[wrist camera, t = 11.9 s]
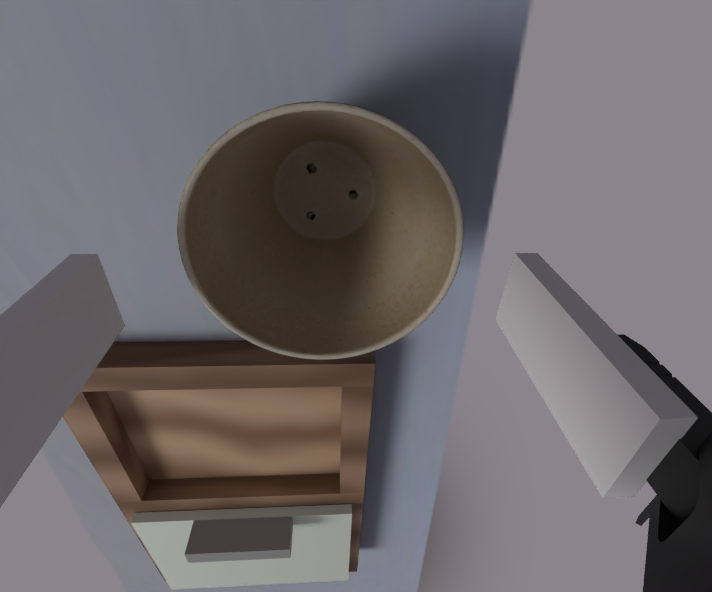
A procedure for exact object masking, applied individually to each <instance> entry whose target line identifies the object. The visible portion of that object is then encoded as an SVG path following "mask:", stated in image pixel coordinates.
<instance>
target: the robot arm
mask: <svg viewBox="0 0 712 592" xmlns="http://www.w3.org/2000/svg"><path fill="white" fill-rule="evenodd" d="M496 322H497V323H498V325H499V327H500V328H501V330H502V332H503V333H504V335H505V337H506V338H507V340H508V342H509V343H510V345H511V346H512V348H513V350H514V352H515V353H516V355H517V357H518V358H519V360H520V362H521V363H522V365H523V366H524V368H525V370H526V372H527V373H528V375H529V376H530V378H531V380H532V381H533V383H534V385H535V386H536V388H537V390H538V391H539V393H540V395H541V396H542V398H543V400H544V401H545V403H546V405H547V406H548V408H549V410H550V411H551V413H552V415H553V416H554V418H555V420H556V421H557V423H558V425H559V426H560V428H561V429H562V431H563V433H564V435H565V436H566V438H567V440H568V441H569V443H570V445H571V446H572V448H573V450H574V451H575V453H576V455H577V456H578V458H579V459H580V461H581V463H582V465H583V466H584V468H585V469H586V471H587V473H588V475H589V476H590V478H591V479H592V481H593V483H594V484H595V486H596V488H597V489H598V491H599V493H600V494H601V496H602V498H613V497H630V496H631V497H632V496H635V495H636V494H637V493H638V491H639V490H640V489H641V488H642V486H643V485H644V484H645V483H646V482H647V481H648V483H649V484H650V486H651V487H652V488H653V490H654V491H655V492H656V494H657V495H656V497H655V498H654V499H653V500H652V501H651V503H649V505H648V506H647V507H646V508H645V509H644V511H643V512H642V513H641V514H640V515H639V516H638V519H637V521H636V523H637V524H639V525H640V526H641V525H642V524H643V523H644V522H645V521H646V520H647V519H648V518H650V520H649V531H648V542H647V553H646V564H645V575H644V586H643V592H712V413H711V412H710V411H709V410H708V409H707V408H706V407H705V406H704V405H703V404H702V403H701V402H700V401H699V400H698V399H697V398H696V397H695V396H694V395H693V394H692V393H691V392H690V391H689V390H688V389H687V388H686V387H685V386H684V385H683V384H681V382H680V381H678V380H677V379H676V378H675V377H672V374H671V373H670V372H669V371H668V370H667V369H666V368H665V367H664V366H663V365H660V364H659V361H658V360H657V359H656V358H655V357H654V356H653V355H652V354H651V353H650V352H648V350H647V349H646V348H645V347H643V346H642V345H640V344H638V343H637V342H635V341H634V340H632V339H630V338H629V337H627V336H626V335H617V334H616V333H615V332H614V331H613V330H612V329H611V328H610V327H609V326H608V325H607V324H606V323H605V322H604V321H603V320H602V319H601V318H600V317H599V316H598V315H597V314H596V313H595V312H594V311H593V310H592V309H591V308H590V306H589V305H587V303H586V302H585V301H584V300H582V298H581V297H580V296H579V295H578V294H577V293H576V292H575V291H574V290H573V289H572V288H571V287H570V286H569V285H568V284H567V283H566V282H565V281H564V280H563V279H562V278H561V277H560V276H559V275H558V274H557V273H556V272H555V271H554V270H553V269H552V268H551V267H550V266H549V265H548V264H547V263H546V262H545V260H544V259H542V257H541V256H540V255H538V253H515V255H514V259H513V262H512V265H511V269H510V272H509V275H508V279H507V282H506V286H505V289H504V292H503V296H502V299H501V302H500V306H499V309H498V313H497V316H496ZM124 326H125V325H124V322H123V319H122V317H121V314H120V312H119V309H118V306H117V304H116V301H115V298H114V296H113V293H112V291H111V288H110V285H109V283H108V280H107V278H106V275H105V272H104V270H103V267H102V265H101V262H100V259H99V257H98V254H71V255H70V256H68V257H67V258H66V259H65V260H64V261H63V262H61V263H60V264H59V265H58V266H57V267H56V268H55V269H53V270H52V271H51V272H50V273H49V274H48V275H46V276H45V277H44V278H43V279H42V280H41V281H40V282H38V283H37V284H36V285H35V286H34V287H33V288H31V289H30V290H29V291H28V292H27V293H26V294H25V295H23V296H22V297H21V298H20V299H19V300H18V301H16V302H15V303H14V304H13V305H12V306H11V307H10V308H8V309H7V310H6V311H5V312H4V313H3V314H1V315H0V507H1V506H2V504H3V503H4V501H5V500H6V498H7V497H8V495H9V494H10V493H11V491H12V490H13V488H14V487H15V485H16V484H17V482H18V481H19V479H20V478H21V476H22V475H23V473H24V472H25V471H26V469H27V468H28V466H29V465H30V463H31V462H32V460H33V459H34V457H35V456H36V455H37V453H38V452H39V450H40V449H41V447H42V446H43V444H44V443H45V441H46V440H47V439H48V437H49V436H50V434H51V433H52V431H53V430H54V428H55V427H56V425H57V424H58V422H59V421H60V420H61V418H62V417H63V415H64V414H65V412H66V411H67V409H68V408H69V406H70V405H71V403H72V402H73V401H74V399H75V398H76V396H77V395H78V393H79V392H80V390H81V389H82V387H83V386H84V385H85V383H86V382H87V380H88V379H89V377H90V376H91V374H92V373H93V371H94V370H95V368H96V367H97V366H98V364H99V363H100V361H101V360H102V358H103V357H104V355H105V354H106V352H107V351H108V349H109V348H110V347H111V345H112V344H113V342H114V341H115V339H116V338H117V336H118V335H119V333H120V332H121V330H122V329H123V328H124Z"/></svg>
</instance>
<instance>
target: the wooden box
mask: <svg viewBox="0 0 712 592" xmlns="http://www.w3.org/2000/svg"><path fill="white" fill-rule="evenodd" d="M374 374H375V357H374V351H372V352H369V353H365V354H361V355H358V356H354V357H347V358H341V359H327V360H326V359H323V360H319V359H304V358H298V357H292V356H287V355H283V354H279V353H276V352H272V351H270V350H267V349H264V348H262V347H259V346H257V345H255V344H253V343H251V342H249V341H230V342H143V343H113V344H112V345H111V347H110V348H109V349H108V351H107V352H106V354H105V355H104V357H103V358H102V360H101V361H100V363H99V364H98V366H97V367H96V368H95V370H94V371H93V373H92V374H91V376H90V377H89V379H88V380H87V382H86V383H85V385H84V386H83V387H82V389H81V390H80V392H79V393H78V395H77V396H76V398H75V399H74V401H73V402H72V403H71V405H70V406H69V408H68V409H67V411H66V412H65V414H64V415H63V418H64V420H65V421H66V423H67V425H68V426H69V428H70V429H71V431H72V433H73V434H74V436H75V437H76V439H77V441H78V442H79V444H80V445H81V447H82V449H83V450H84V452H85V453H86V455H87V457H88V458H89V460H90V461H91V463H92V465H93V466H94V468H95V469H96V471H97V473H98V474H99V476H100V478H101V479H102V481H103V482H104V484H105V486H106V487H107V489H108V490H109V492H110V494H111V495H112V497H113V498H114V500H115V502H116V503H117V505H118V506H119V508H120V510H121V511H122V513H123V514H124V516H125V518H126V519H127V521H128V522H129V524H130V526H131V527H132V529H133V531H134V532H135V534H136V535H137V537H138V539H139V540H140V542H141V543H142V545H143V547H144V548H145V550H146V551H147V553H148V555H149V556H150V558H151V559H152V561H153V563H154V564H155V566H156V567H157V565H156V563H155V562H154V560H153V558H152V557H151V555H150V554H149V552H148V550H147V549H146V547H145V546H144V544H143V542H142V541H141V539H140V537H139V536H138V534H137V533H136V531H135V529H134V528H133V526H132V524H131V521H132V518H133V516H134V513H143V512H168V511H193V510H218V509H243V508H269V507H294V506H319V505H344V504H352V522H351V540H350V557H349V572H356V571H357V566H358V555H359V544H360V533H361V521H362V510H363V499H364V487H365V476H366V465H367V453H368V442H369V431H370V419H371V408H372V397H373V385H374ZM157 569H158V571H159V572H160V574H161V575H162V573H161V571H160V570H159V568H158V567H157ZM162 577H163V579H164V580H165V578H164V576H163V575H162ZM165 581H166V580H165Z"/></svg>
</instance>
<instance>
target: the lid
mask: <svg viewBox="0 0 712 592" xmlns="http://www.w3.org/2000/svg"><path fill="white" fill-rule="evenodd" d="M351 522H352V504H344V505H319V506H294V507H269V508H243V509H218V510H193V511H168V512H143V513H134V516H133V518H132V521H131V524H132V526H133V528H134V529H135V531H136V533H137V534H138V536H139V537H140V539H141V541H142V542H143V544H144V546H145V547H146V549H147V550H148V552H149V554H150V555H151V557H152V558H153V560H154V562H155V563H156V565H157V567H158V568H159V570H160V571H161V573H162V575H163V576H164V578H165V580H166V581H167V583H168V584H169V586H170V588H171V589H191V588H209V587H228V586H247V585H266V584H285V583H304V582H323V581H342V580H348V574H349V557H350V540H351Z"/></svg>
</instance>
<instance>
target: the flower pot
mask: <svg viewBox="0 0 712 592" xmlns="http://www.w3.org/2000/svg"><path fill="white" fill-rule="evenodd" d="M307 167H309V168H311V170H312V172H311V173H310V172H309V171H308V169H307ZM352 190H355V191H356V192H355V193H350V191H352ZM314 214H315V217H314V219H312V218H311V216H312V215H314ZM177 233H178V244H179V250H180V254H181V259H182V262H183V265H184V268H185V271H186V274H187V276H188V278H189V281H190V283H191V285H192V286H193V288H194V290H195V292H196V293H197V295H198V296H199V298H200V299H201V301H202V302H203V303H204V305H205V306H206V307H207V308H208V309H209V311H210V312H211V313H212V314H213V315H214V316H215V317H216V318H217V319H218V320H219V321H220V322H221V323H222V324H223V325H225V326H226V327H227V328H228V329H230V330H231V331H233V332H234V333H236V334H237V335H239V336H240V337H242V338H244V339H246V340H247V341H249V342H251V343H253V344H255V345H257V346H259V347H262V348H264V349H267V350H270V351H272V352H276V353H279V354H283V355H287V356H292V357H298V358H304V359H319V360H323V359H326V360H327V359H341V358H347V357H354V356H358V355H361V354H365V353H369V352H372V351H375V350H378V349H380V348H383V347H385V346H387V345H389V344H391V343H393V342H395V341H397V340H399V339H401V338H402V337H404V336H405V335H407V334H408V333H410V332H411V331H413V330H414V329H415V328H416V327H418V326H419V325H420V324H421V323H423V322H424V321H425V320H426V319H427V318H428V317H429V316H430V315H431V313H432V312H433V311H434V310H435V309H436V307H437V306H438V305H439V304H440V302H441V301H442V299H443V298H444V297H445V295H446V293H447V292H448V290H449V288H450V286H451V284H452V282H453V280H454V277H455V275H456V273H457V270H458V267H459V263H460V259H461V254H462V247H463V236H464V229H463V216H462V210H461V206H460V202H459V198H458V195H457V192H456V190H455V187H454V185H453V182H452V180H451V178H450V176H449V174H448V172H447V171H446V169H445V168H444V167H443V165H442V163H441V162H440V161H439V159H438V158H437V157H436V156H435V154H434V153H433V152H432V151H431V150H430V149H429V148H428V147H427V146H426V145H425V144H424V143H423V142H422V141H421V140H420V139H419V138H418V137H416V136H415V135H414V134H413V133H411V132H410V131H409V130H407V129H406V128H404V127H403V126H401V125H400V124H398V123H396V122H394V121H392V120H390V119H388V118H386V117H384V116H382V115H380V114H378V113H375V112H372V111H370V110H367V109H364V108H360V107H357V106H353V105H349V104H343V103H336V102H320V101H313V102H300V103H293V104H288V105H283V106H279V107H276V108H273V109H270V110H266V111H264V112H261V113H259V114H256V115H254V116H252V117H250V118H248V119H246V120H245V121H243V122H241V123H239V124H238V125H236V126H234V127H233V128H231V129H230V130H228V131H227V132H226V133H225V134H223V135H222V136H221V137H220V138H219V139H218V140H217V141H216V142H215V143H214V144H213V145H212V146H211V147H210V148H209V149H208V150H207V151H206V153H205V154H204V155H203V156H202V158H201V159H200V160H199V162H198V163H197V165H196V167H195V168H194V170H193V172H192V173H191V175H190V177H189V179H188V181H187V184H186V186H185V189H184V192H183V195H182V199H181V202H180V207H179V213H178V225H177Z"/></svg>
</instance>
